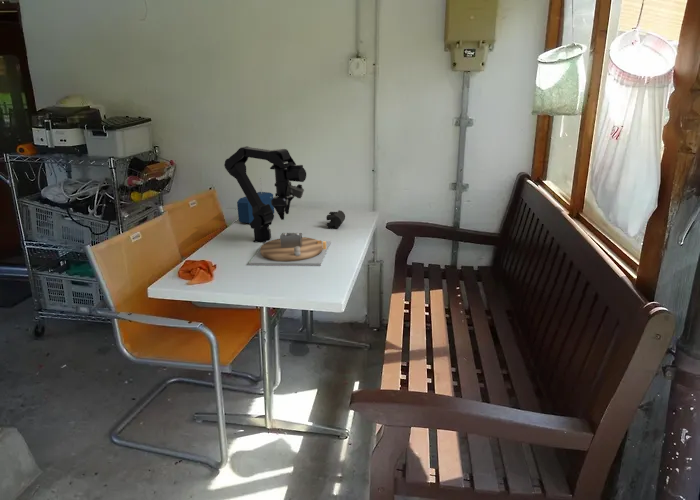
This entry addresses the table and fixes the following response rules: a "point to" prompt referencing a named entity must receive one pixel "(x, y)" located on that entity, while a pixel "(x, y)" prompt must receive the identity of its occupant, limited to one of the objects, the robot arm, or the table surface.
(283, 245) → the steel link block
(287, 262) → the base plate
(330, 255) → the table surface
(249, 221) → the radio
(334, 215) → the end cap
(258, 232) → the robot arm
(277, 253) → the round wooden board
